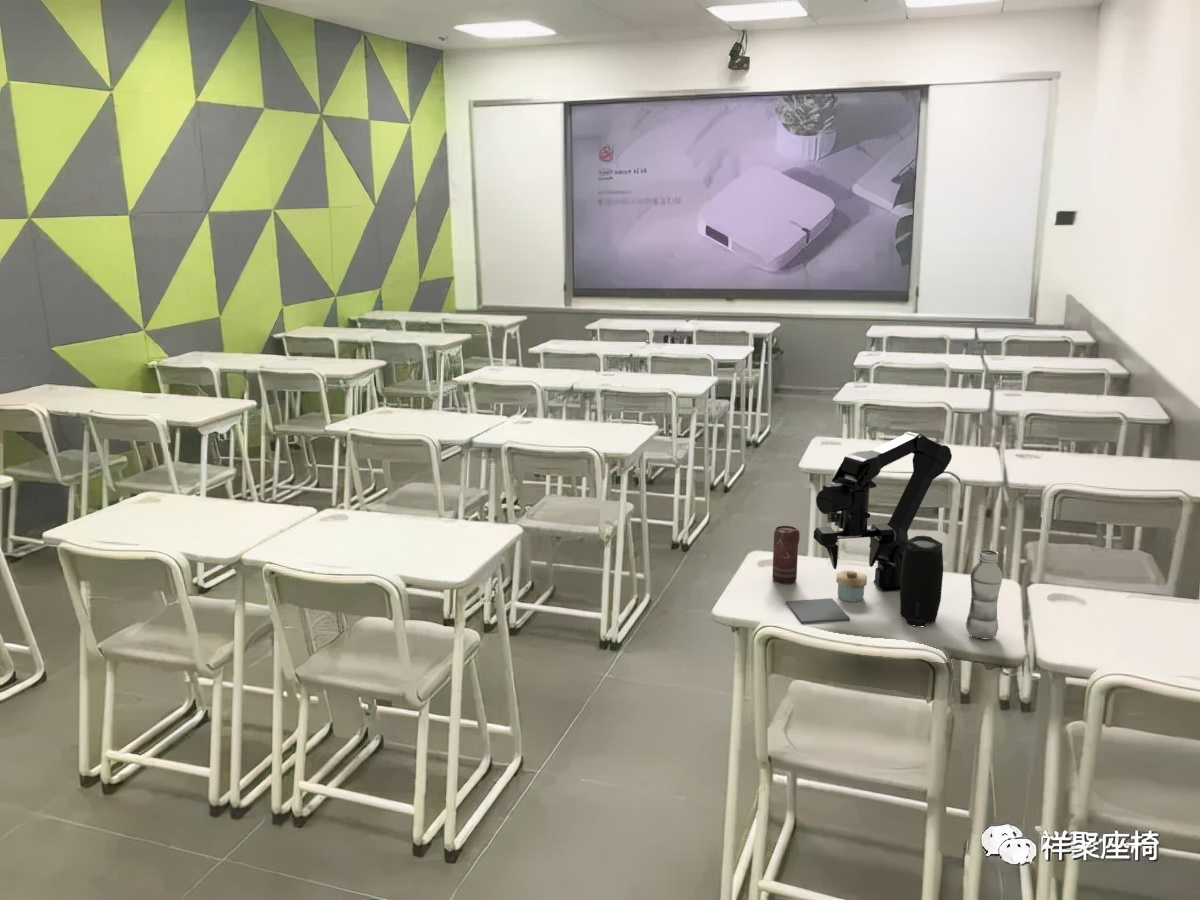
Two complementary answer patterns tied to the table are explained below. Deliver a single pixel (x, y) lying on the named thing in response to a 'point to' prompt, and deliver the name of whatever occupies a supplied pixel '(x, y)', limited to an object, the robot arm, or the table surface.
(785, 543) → the can
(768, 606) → the table surface
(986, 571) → the plastic bottle
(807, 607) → the mat
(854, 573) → the lid
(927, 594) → the portable speaker
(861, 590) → the bowl
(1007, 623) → the table surface
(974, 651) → the table surface
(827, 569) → the table surface
